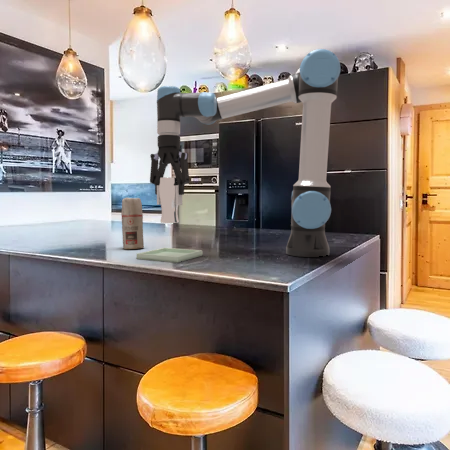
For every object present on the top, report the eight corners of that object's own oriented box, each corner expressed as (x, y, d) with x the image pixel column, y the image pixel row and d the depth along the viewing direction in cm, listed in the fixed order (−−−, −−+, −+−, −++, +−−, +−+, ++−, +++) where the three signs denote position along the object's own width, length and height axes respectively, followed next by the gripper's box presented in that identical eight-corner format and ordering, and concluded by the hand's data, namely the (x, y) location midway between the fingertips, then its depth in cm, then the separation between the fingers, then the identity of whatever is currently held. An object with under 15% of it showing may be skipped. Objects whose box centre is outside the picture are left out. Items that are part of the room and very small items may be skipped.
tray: (202, 255, 142) (202, 250, 142) (177, 262, 128) (177, 257, 128) (164, 252, 149) (164, 247, 149) (136, 259, 135) (136, 253, 135)
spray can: (117, 249, 157) (116, 197, 156) (130, 246, 165) (129, 197, 163) (136, 250, 154) (135, 197, 153) (148, 247, 162) (147, 197, 160)
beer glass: (176, 223, 134) (176, 177, 132) (156, 223, 135) (155, 177, 134) (182, 221, 140) (182, 178, 139) (163, 221, 142) (163, 178, 141)
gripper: (200, 135, 134) (200, 204, 136) (151, 138, 143) (152, 204, 145) (188, 132, 128) (188, 205, 129) (137, 135, 136) (138, 204, 138)
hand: (169, 204), depth 137 cm, fingers closed on beer glass, 7 cm apart
